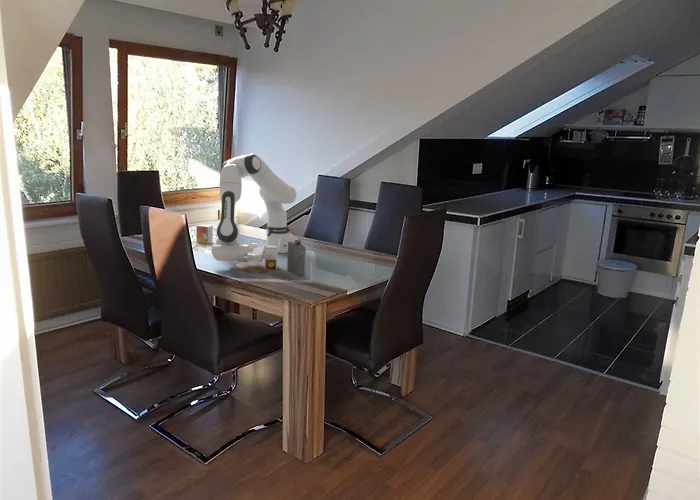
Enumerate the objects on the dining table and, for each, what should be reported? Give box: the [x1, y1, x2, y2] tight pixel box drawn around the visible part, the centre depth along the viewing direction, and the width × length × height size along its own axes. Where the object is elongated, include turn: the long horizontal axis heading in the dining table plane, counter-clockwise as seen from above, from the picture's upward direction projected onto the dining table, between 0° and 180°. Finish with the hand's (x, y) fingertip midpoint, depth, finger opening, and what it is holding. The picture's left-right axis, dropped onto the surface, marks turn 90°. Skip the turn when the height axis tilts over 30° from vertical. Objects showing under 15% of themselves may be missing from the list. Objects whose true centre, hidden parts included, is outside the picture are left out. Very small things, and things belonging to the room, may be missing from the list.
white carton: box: [264, 244, 279, 269], centre depth 273 cm, size 6×6×11 cm
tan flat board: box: [234, 261, 285, 274], centre depth 275 cm, size 20×18×1 cm
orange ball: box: [268, 261, 275, 268], centre depth 274 cm, size 4×4×4 cm
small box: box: [195, 224, 214, 245], centre depth 328 cm, size 8×6×10 cm
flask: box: [286, 239, 306, 278], centre depth 264 cm, size 4×14×18 cm, turn 35°
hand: (273, 254), depth 273 cm, fingers closed on white carton, 6 cm apart
